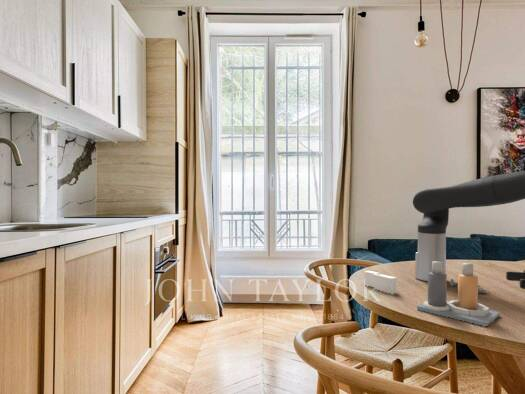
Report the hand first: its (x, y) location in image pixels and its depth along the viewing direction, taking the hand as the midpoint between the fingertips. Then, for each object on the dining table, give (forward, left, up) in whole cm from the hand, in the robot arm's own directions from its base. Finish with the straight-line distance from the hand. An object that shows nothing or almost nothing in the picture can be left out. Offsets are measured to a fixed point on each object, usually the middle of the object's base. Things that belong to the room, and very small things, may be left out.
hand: (513, 279), depth 84 cm
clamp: (-17, +22, -10) cm, 29 cm away
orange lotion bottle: (-9, -5, -9) cm, 13 cm away
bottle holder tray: (-11, -6, -10) cm, 16 cm away
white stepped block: (-36, +1, -10) cm, 37 cm away
